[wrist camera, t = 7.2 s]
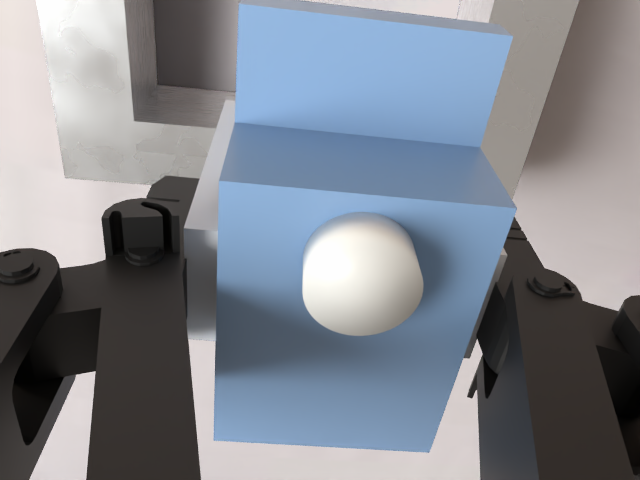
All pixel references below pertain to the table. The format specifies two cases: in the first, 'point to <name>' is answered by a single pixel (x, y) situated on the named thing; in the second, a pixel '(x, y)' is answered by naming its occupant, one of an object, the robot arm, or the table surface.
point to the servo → (353, 223)
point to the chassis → (206, 105)
